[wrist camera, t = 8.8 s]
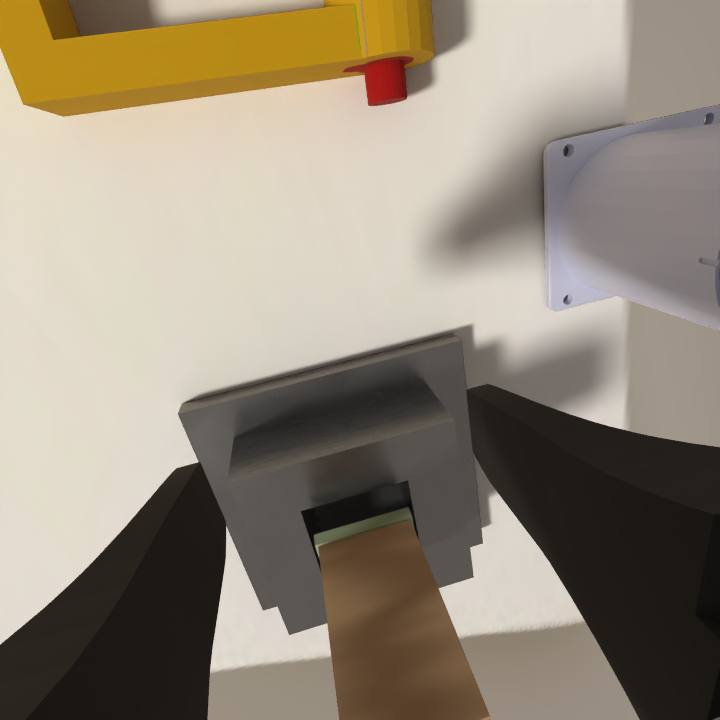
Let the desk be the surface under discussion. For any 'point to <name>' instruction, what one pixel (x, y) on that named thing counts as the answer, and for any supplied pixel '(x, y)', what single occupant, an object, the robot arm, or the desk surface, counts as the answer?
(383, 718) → the oak post
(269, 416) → the metal sleeve
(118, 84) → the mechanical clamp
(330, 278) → the desk surface
